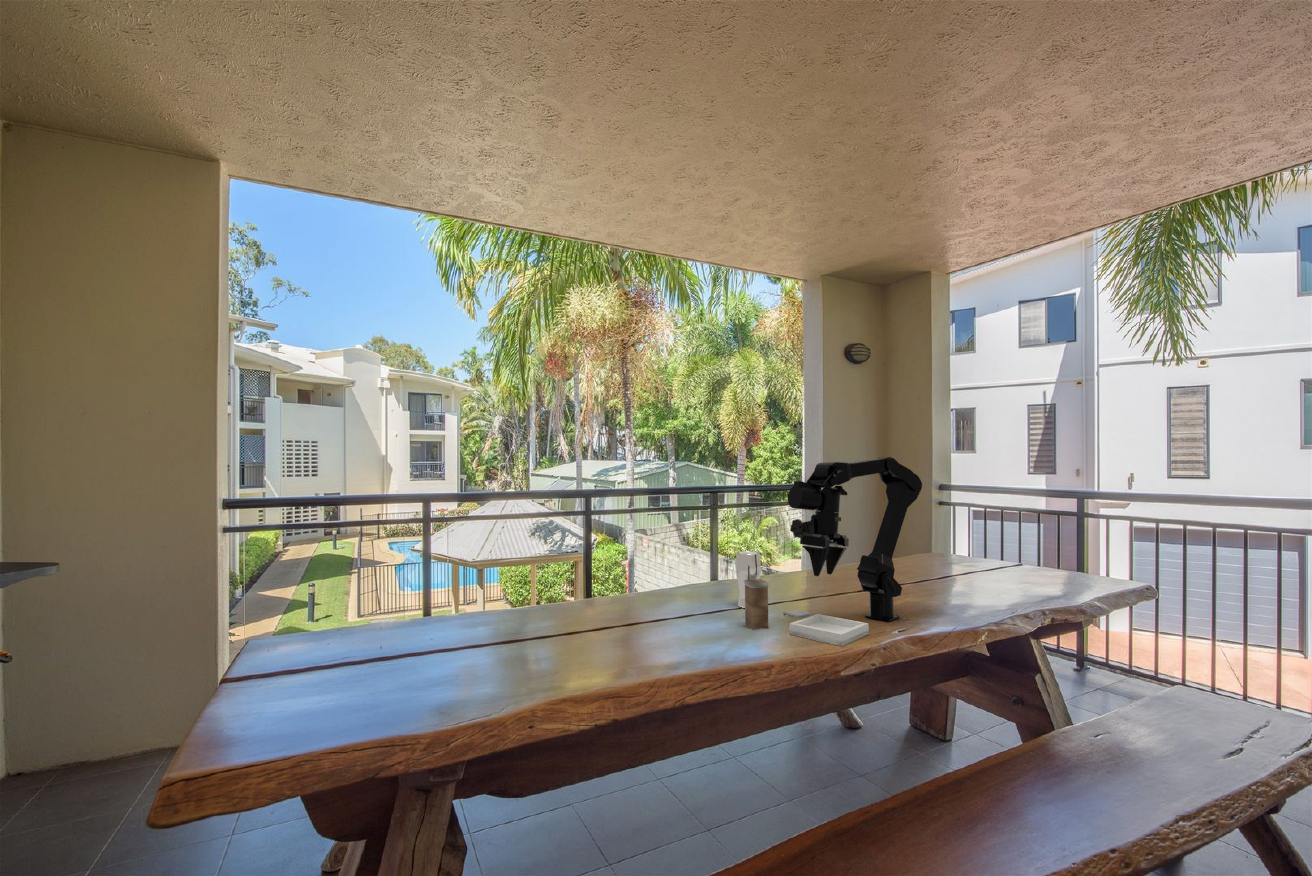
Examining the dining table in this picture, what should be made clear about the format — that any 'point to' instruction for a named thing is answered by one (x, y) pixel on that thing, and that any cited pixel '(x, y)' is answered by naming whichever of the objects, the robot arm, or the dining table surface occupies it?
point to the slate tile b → (797, 614)
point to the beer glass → (746, 571)
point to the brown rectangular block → (756, 603)
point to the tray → (829, 629)
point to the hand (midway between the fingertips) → (823, 575)
